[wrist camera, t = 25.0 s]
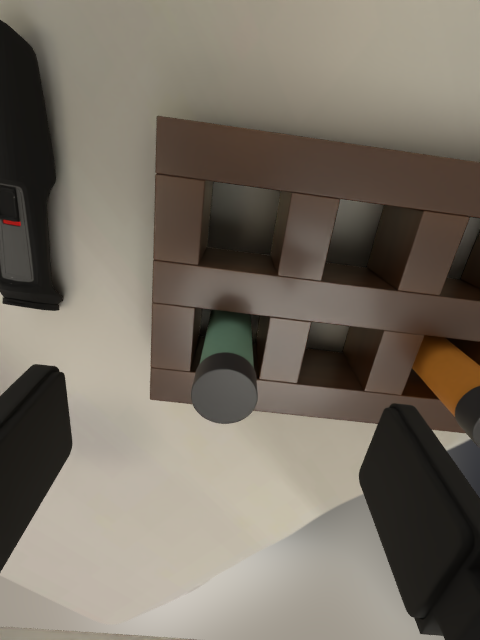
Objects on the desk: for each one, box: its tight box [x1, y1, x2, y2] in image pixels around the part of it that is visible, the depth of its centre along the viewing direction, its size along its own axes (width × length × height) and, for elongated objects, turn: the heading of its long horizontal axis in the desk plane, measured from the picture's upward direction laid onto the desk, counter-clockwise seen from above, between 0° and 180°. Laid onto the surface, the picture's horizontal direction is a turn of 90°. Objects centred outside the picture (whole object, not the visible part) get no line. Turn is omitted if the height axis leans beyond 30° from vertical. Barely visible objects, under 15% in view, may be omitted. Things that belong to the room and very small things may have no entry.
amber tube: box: [412, 335, 480, 447], centre depth 20 cm, size 3×3×10 cm
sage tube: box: [191, 310, 258, 424], centre depth 20 cm, size 3×3×10 cm
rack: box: [150, 116, 480, 433], centre depth 21 cm, size 16×22×5 cm
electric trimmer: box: [0, 20, 63, 311], centre depth 20 cm, size 4×16×3 cm, turn 170°
